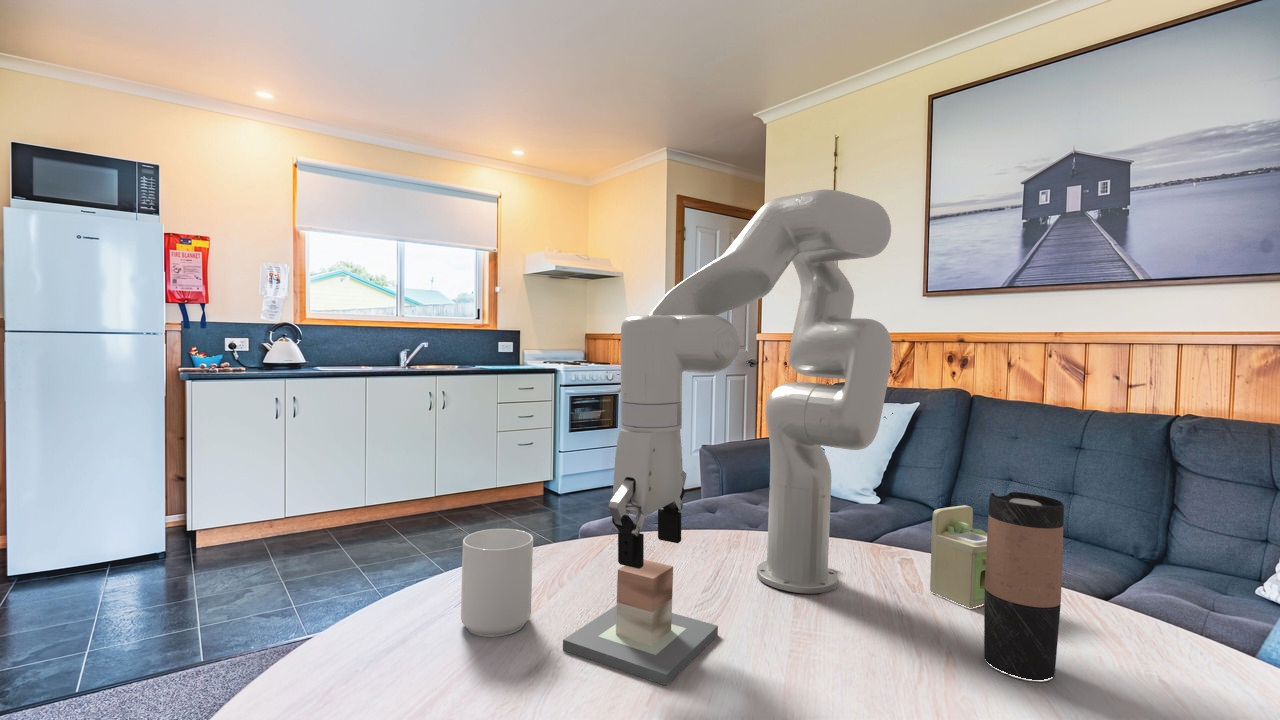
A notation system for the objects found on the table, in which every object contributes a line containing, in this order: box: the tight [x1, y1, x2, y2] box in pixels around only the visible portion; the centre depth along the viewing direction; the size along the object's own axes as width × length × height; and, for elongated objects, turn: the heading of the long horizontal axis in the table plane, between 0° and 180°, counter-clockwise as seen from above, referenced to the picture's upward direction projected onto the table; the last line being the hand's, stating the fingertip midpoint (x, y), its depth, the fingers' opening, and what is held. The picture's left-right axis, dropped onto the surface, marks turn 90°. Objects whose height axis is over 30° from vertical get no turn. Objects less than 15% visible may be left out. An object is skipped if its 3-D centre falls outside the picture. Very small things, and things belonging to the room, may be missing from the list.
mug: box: [460, 528, 534, 638], centre depth 80 cm, size 12×9×11 cm
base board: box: [562, 604, 719, 686], centre depth 75 cm, size 14×14×1 cm
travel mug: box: [983, 491, 1065, 680], centre depth 72 cm, size 8×8×20 cm
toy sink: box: [929, 504, 988, 608], centre depth 92 cm, size 9×7×13 cm
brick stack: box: [616, 559, 674, 646], centre depth 75 cm, size 5×5×8 cm
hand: (651, 552), depth 75 cm, fingers open, 9 cm apart
